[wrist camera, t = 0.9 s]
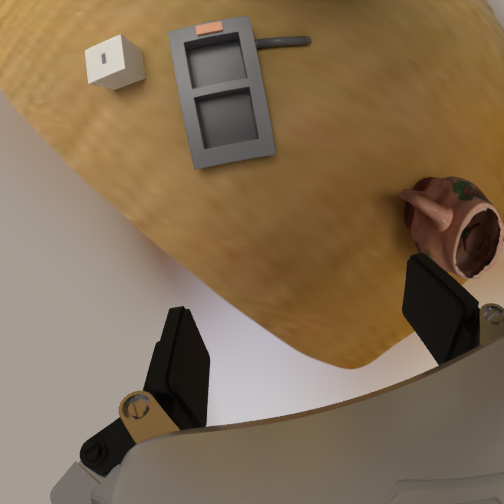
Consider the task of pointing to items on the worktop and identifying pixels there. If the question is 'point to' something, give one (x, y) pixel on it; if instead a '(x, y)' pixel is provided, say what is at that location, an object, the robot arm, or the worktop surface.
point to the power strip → (224, 90)
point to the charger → (114, 63)
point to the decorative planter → (454, 225)
